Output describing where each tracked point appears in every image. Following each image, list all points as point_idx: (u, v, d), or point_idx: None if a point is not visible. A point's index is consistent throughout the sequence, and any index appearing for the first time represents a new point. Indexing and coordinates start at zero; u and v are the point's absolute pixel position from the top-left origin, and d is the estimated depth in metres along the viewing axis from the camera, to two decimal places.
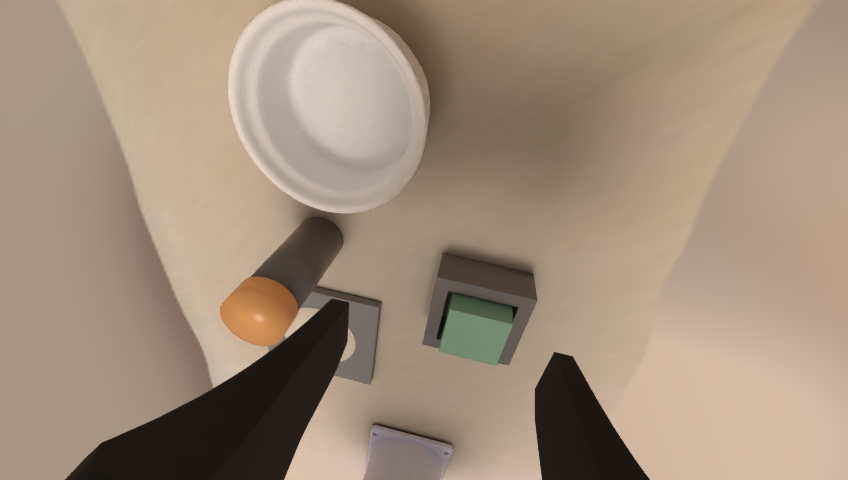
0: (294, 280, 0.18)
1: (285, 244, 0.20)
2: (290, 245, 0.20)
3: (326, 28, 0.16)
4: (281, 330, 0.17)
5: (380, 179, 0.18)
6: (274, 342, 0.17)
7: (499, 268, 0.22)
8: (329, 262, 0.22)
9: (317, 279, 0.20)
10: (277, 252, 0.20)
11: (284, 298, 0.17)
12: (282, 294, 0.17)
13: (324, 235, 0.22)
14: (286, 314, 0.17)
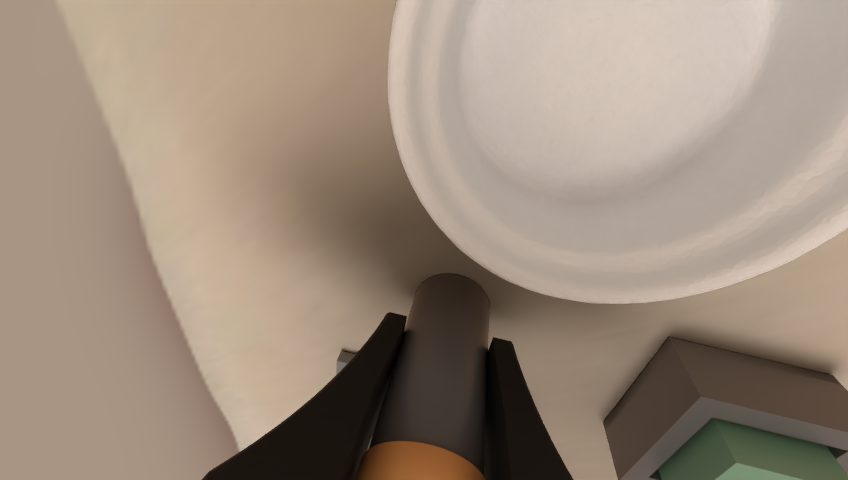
0: (474, 434, 0.09)
1: (425, 339, 0.11)
2: (438, 342, 0.11)
3: None
4: None
5: (674, 230, 0.08)
6: None
7: (774, 366, 0.13)
8: None
9: None
10: (418, 360, 0.10)
11: None
12: None
13: (476, 311, 0.12)
14: None
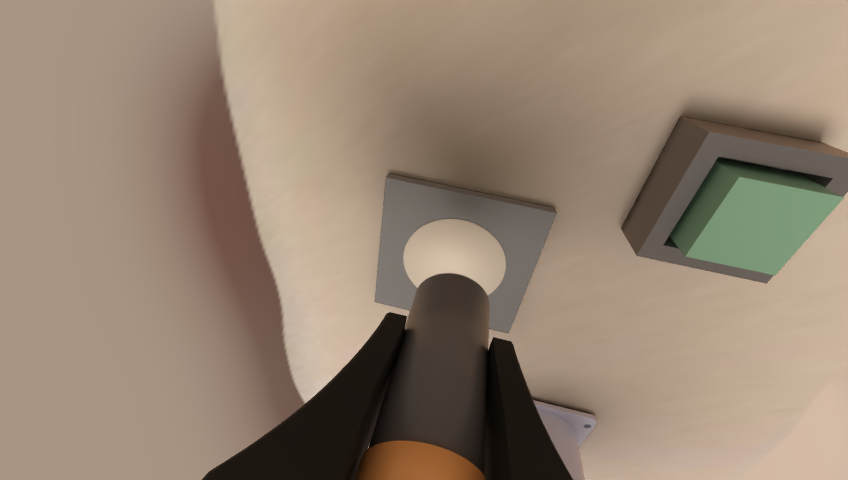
0: (475, 433, 0.09)
1: (425, 338, 0.11)
2: (438, 342, 0.11)
3: None
4: None
5: None
6: None
7: (771, 134, 0.15)
8: None
9: None
10: (418, 360, 0.10)
11: None
12: None
13: (477, 311, 0.12)
14: None
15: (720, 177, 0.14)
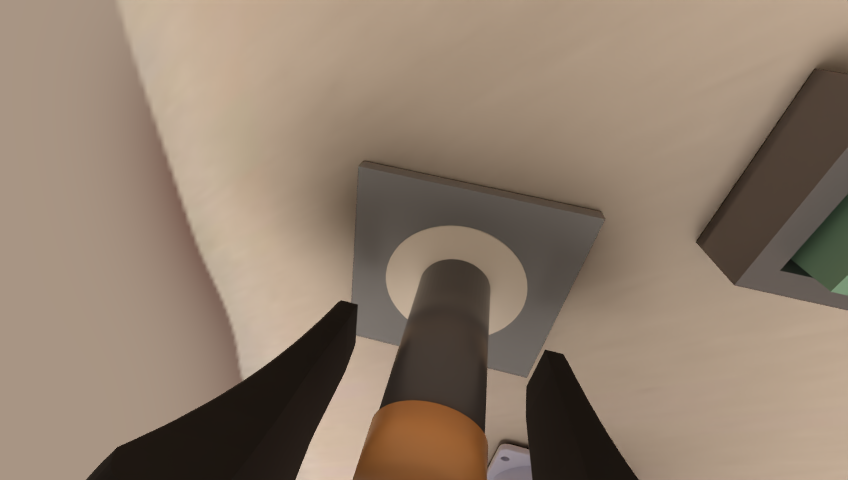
0: (476, 397, 0.10)
1: (430, 315, 0.12)
2: (442, 318, 0.11)
3: None
4: None
5: None
6: None
7: None
8: None
9: None
10: (424, 334, 0.11)
11: (480, 449, 0.09)
12: (474, 439, 0.09)
13: (478, 293, 0.13)
14: None
15: None
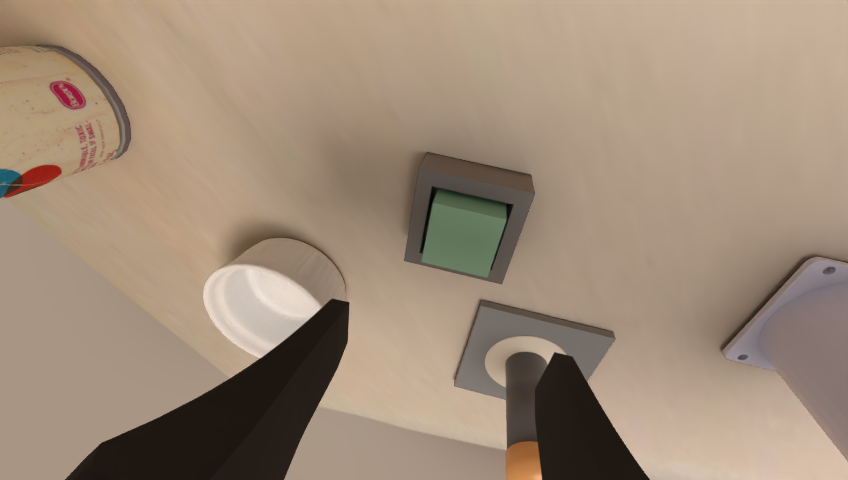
0: (520, 429, 0.21)
1: None
2: (506, 405, 0.23)
3: (252, 290, 0.27)
4: None
5: None
6: None
7: None
8: (537, 379, 0.23)
9: None
10: (507, 419, 0.23)
11: (522, 451, 0.20)
12: (519, 449, 0.20)
13: (513, 371, 0.24)
14: (535, 459, 0.19)
15: None
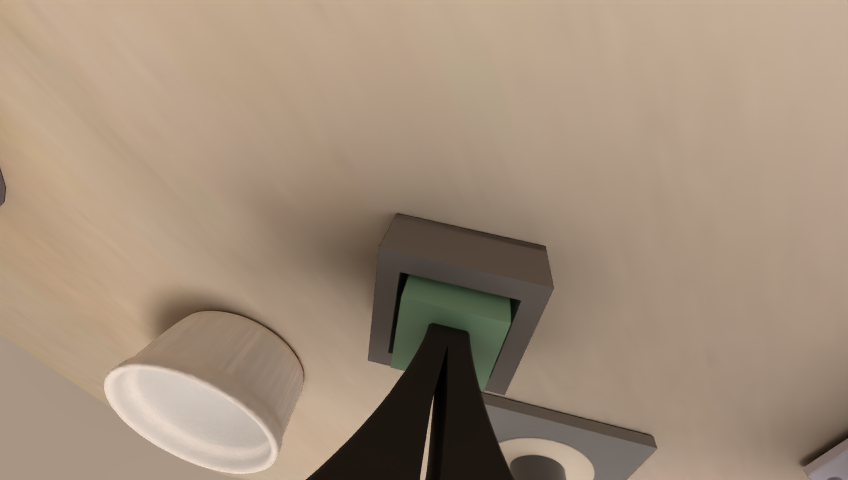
0: None
1: None
2: None
3: None
4: None
5: None
6: None
7: None
8: None
9: None
10: None
11: None
12: None
13: None
14: None
15: None
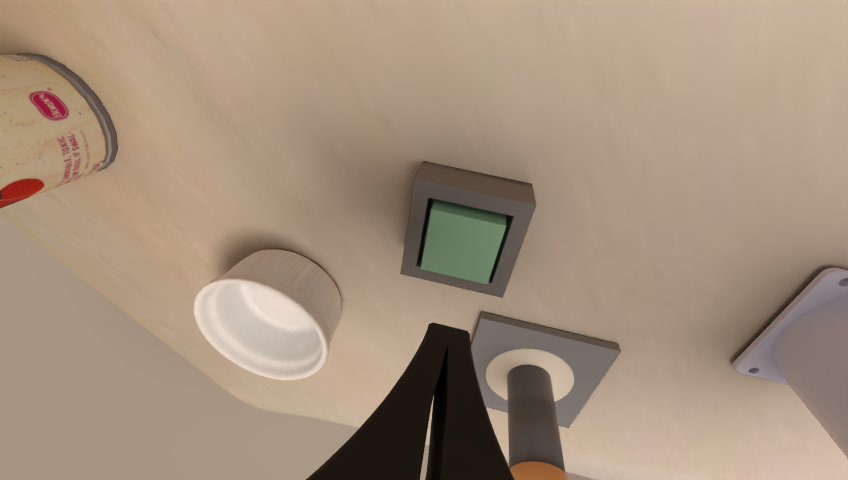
0: (522, 448, 0.20)
1: None
2: (508, 421, 0.23)
3: (246, 303, 0.26)
4: None
5: None
6: None
7: None
8: (540, 394, 0.23)
9: (543, 420, 0.21)
10: None
11: (526, 472, 0.19)
12: (522, 470, 0.19)
13: (515, 385, 0.24)
14: None
15: None
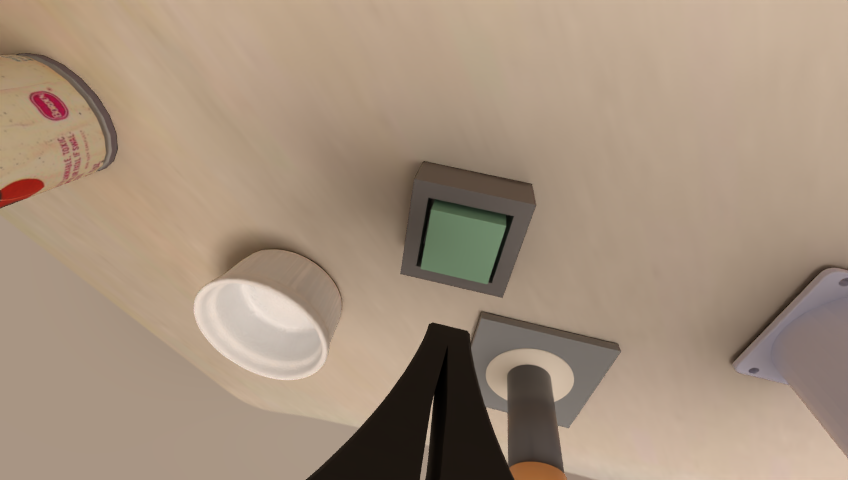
0: (522, 448, 0.20)
1: None
2: None
3: (246, 303, 0.26)
4: None
5: None
6: None
7: None
8: (540, 394, 0.23)
9: (542, 420, 0.21)
10: None
11: (524, 471, 0.19)
12: (521, 470, 0.19)
13: (515, 385, 0.24)
14: None
15: None
